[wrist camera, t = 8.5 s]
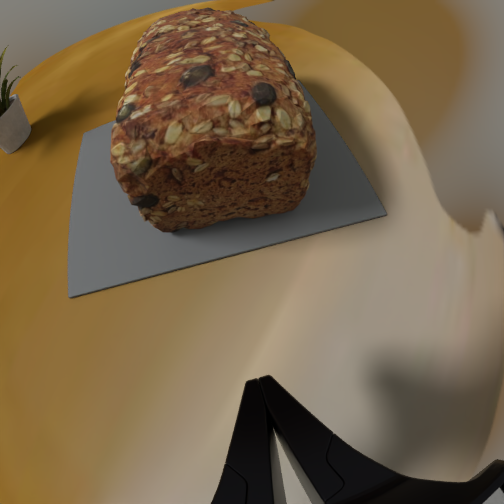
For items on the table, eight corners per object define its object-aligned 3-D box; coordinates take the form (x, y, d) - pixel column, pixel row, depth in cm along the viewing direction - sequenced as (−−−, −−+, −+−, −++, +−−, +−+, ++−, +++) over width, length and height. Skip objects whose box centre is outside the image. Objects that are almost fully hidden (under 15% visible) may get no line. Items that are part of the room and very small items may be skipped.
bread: (159, 93, 25) (138, 17, 15) (255, 77, 25) (254, -2, 16) (151, 246, 17) (75, 142, 8) (308, 218, 18) (345, 95, 9)
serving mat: (384, 216, 19) (386, 213, 18) (71, 298, 16) (68, 297, 16) (298, 83, 25) (298, 80, 25) (85, 135, 23) (83, 133, 23)
